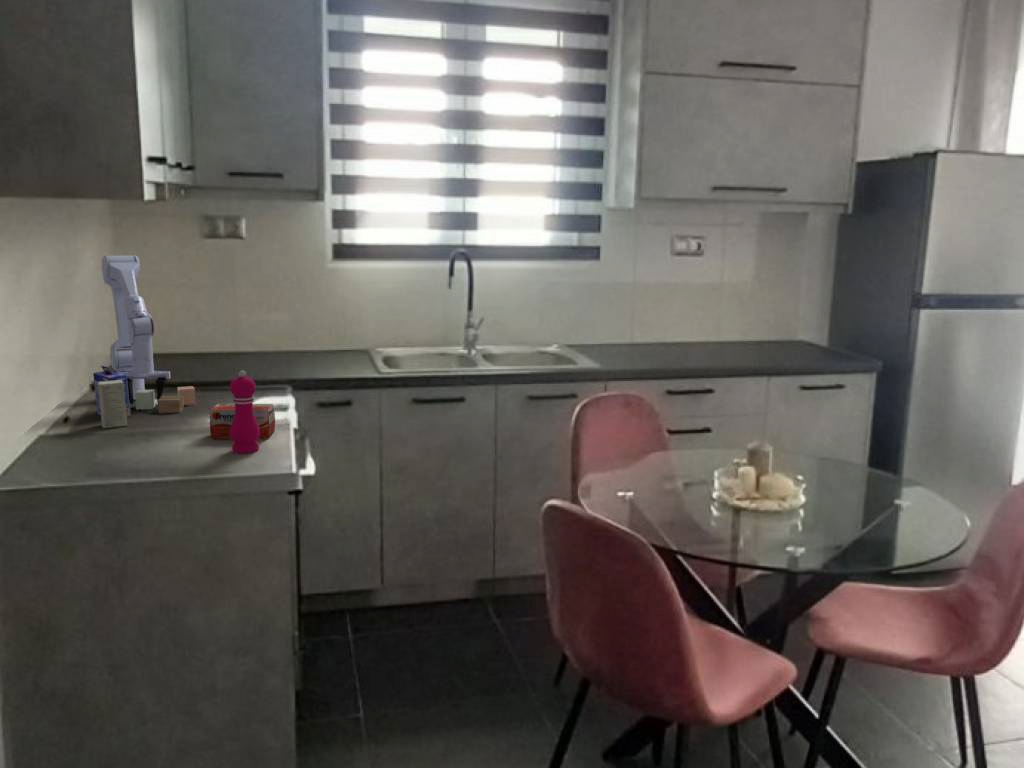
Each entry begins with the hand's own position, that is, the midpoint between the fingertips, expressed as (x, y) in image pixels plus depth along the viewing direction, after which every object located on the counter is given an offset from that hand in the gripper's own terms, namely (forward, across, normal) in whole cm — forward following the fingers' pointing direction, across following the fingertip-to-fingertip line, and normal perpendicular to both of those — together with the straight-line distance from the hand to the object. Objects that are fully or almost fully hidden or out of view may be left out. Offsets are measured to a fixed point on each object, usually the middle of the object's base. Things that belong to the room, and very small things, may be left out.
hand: (145, 402), depth 257 cm
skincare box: (+2, -4, -22) cm, 22 cm away
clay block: (+2, +11, +4) cm, 12 cm away
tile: (+1, +1, +7) cm, 7 cm away
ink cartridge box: (+2, -7, -9) cm, 12 cm away
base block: (+2, +8, -5) cm, 10 cm away
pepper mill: (+2, +33, -53) cm, 62 cm away
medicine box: (+2, +31, -38) cm, 49 cm away
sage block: (+2, 0, 0) cm, 2 cm away
